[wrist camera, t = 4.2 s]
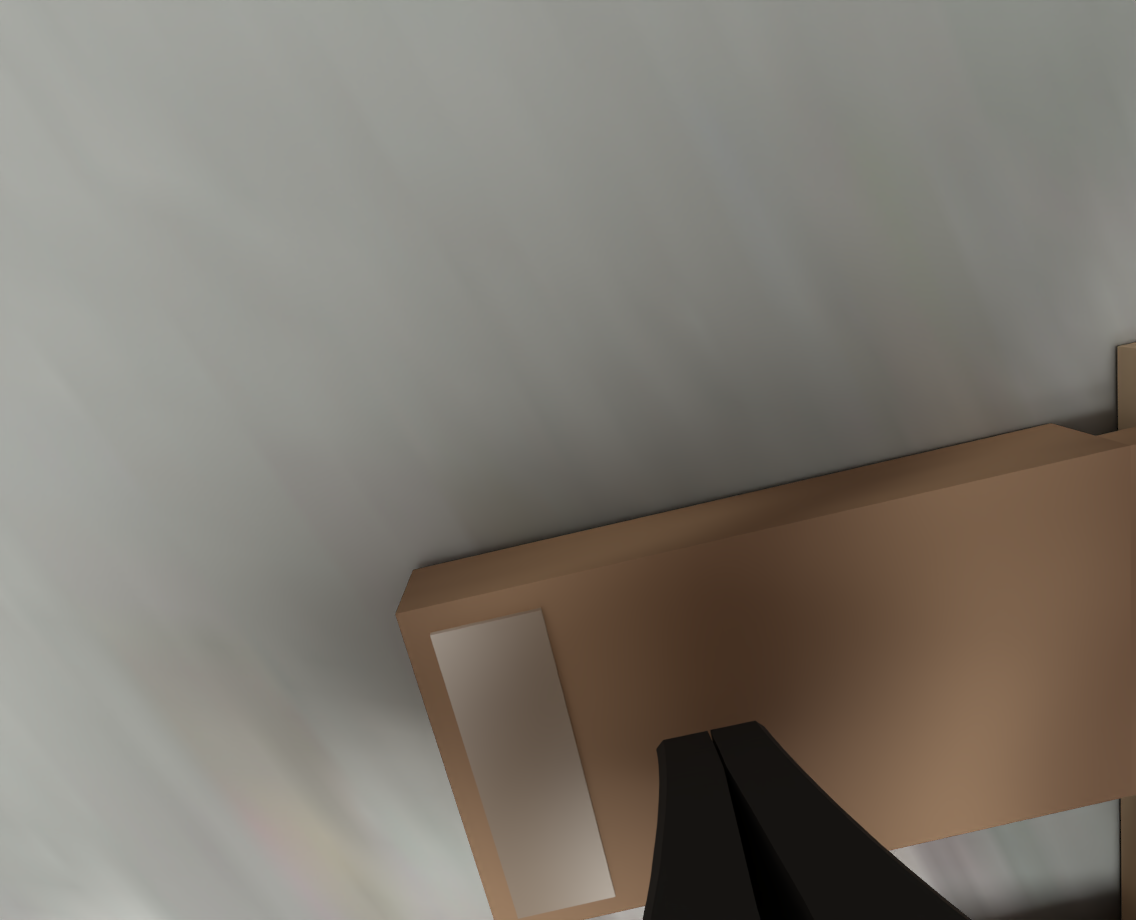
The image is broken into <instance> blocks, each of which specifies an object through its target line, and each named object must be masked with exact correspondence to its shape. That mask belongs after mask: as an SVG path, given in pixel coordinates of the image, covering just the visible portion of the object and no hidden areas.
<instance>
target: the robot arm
mask: <svg viewBox="0 0 1136 920" xmlns="http://www.w3.org/2000/svg"><path fill="white" fill-rule="evenodd" d="M710 732H711V737H712V739H711V737H710V735H709V733H708V731H703V732H698V733H694V734H689V735H684V736H680V737H675V738H670V739H665V740H663V741H662V742H661V743H660V745H659V746H658V747H657V749H656V751H657V757H658V765H659V802H658V817H657V829H656V837H655V845H654V853H653V861H652V869H651V877H650V883H649V889H648V895H647V900H646V905H645V910H644V916H643V920H971V919H970V918H969V917H967V916H966V915H965V914H964V913H962V912H961V911H960V910H959V909H957V908H956V907H955V906H954V905H952V904H951V903H950V902H949V901H947V900H946V899H945V898H944V897H942V896H941V895H940V894H939V893H938V892H936V891H935V890H934V889H933V888H932V887H930V886H929V885H928V884H927V883H926V882H924V881H923V880H922V879H921V878H920V877H918V876H917V875H916V874H915V873H914V872H912V871H911V870H910V869H909V868H908V867H907V866H905V865H904V864H903V863H902V862H901V861H900V860H898V859H897V858H896V857H895V856H894V855H893V854H892V853H890V852H889V851H888V850H887V849H886V848H885V847H884V846H882V845H881V844H880V843H879V842H878V841H877V840H876V839H875V838H874V837H873V836H872V835H870V834H869V833H868V832H867V831H866V830H865V829H864V828H863V827H862V826H861V825H860V824H859V823H857V822H856V821H855V820H854V819H853V818H852V817H851V816H850V815H849V814H848V813H847V812H846V811H845V810H843V809H842V808H841V807H840V806H839V805H838V804H837V803H836V802H835V801H834V800H833V799H832V798H831V797H830V796H829V795H828V794H827V793H826V792H825V791H824V790H823V789H822V788H821V787H820V786H819V785H818V784H817V783H816V782H815V781H814V780H813V779H812V778H811V777H810V776H809V775H808V774H807V773H806V772H805V771H804V770H803V769H802V768H801V767H800V766H799V765H798V764H797V763H796V762H795V761H794V759H793V758H792V757H791V756H790V755H789V754H788V753H787V752H786V751H785V750H784V749H783V747H782V746H781V745H780V744H779V743H778V742H777V741H776V740H775V738H774V737H773V736H772V735H771V734H770V733H769V731H768V730H767V729H766V728H765V726H763V725H761V724H760V723H758V722H757V721H750V722H746V723H741V724H736V725H731V726H727V727H722V728H717V729H713V730H710Z"/></svg>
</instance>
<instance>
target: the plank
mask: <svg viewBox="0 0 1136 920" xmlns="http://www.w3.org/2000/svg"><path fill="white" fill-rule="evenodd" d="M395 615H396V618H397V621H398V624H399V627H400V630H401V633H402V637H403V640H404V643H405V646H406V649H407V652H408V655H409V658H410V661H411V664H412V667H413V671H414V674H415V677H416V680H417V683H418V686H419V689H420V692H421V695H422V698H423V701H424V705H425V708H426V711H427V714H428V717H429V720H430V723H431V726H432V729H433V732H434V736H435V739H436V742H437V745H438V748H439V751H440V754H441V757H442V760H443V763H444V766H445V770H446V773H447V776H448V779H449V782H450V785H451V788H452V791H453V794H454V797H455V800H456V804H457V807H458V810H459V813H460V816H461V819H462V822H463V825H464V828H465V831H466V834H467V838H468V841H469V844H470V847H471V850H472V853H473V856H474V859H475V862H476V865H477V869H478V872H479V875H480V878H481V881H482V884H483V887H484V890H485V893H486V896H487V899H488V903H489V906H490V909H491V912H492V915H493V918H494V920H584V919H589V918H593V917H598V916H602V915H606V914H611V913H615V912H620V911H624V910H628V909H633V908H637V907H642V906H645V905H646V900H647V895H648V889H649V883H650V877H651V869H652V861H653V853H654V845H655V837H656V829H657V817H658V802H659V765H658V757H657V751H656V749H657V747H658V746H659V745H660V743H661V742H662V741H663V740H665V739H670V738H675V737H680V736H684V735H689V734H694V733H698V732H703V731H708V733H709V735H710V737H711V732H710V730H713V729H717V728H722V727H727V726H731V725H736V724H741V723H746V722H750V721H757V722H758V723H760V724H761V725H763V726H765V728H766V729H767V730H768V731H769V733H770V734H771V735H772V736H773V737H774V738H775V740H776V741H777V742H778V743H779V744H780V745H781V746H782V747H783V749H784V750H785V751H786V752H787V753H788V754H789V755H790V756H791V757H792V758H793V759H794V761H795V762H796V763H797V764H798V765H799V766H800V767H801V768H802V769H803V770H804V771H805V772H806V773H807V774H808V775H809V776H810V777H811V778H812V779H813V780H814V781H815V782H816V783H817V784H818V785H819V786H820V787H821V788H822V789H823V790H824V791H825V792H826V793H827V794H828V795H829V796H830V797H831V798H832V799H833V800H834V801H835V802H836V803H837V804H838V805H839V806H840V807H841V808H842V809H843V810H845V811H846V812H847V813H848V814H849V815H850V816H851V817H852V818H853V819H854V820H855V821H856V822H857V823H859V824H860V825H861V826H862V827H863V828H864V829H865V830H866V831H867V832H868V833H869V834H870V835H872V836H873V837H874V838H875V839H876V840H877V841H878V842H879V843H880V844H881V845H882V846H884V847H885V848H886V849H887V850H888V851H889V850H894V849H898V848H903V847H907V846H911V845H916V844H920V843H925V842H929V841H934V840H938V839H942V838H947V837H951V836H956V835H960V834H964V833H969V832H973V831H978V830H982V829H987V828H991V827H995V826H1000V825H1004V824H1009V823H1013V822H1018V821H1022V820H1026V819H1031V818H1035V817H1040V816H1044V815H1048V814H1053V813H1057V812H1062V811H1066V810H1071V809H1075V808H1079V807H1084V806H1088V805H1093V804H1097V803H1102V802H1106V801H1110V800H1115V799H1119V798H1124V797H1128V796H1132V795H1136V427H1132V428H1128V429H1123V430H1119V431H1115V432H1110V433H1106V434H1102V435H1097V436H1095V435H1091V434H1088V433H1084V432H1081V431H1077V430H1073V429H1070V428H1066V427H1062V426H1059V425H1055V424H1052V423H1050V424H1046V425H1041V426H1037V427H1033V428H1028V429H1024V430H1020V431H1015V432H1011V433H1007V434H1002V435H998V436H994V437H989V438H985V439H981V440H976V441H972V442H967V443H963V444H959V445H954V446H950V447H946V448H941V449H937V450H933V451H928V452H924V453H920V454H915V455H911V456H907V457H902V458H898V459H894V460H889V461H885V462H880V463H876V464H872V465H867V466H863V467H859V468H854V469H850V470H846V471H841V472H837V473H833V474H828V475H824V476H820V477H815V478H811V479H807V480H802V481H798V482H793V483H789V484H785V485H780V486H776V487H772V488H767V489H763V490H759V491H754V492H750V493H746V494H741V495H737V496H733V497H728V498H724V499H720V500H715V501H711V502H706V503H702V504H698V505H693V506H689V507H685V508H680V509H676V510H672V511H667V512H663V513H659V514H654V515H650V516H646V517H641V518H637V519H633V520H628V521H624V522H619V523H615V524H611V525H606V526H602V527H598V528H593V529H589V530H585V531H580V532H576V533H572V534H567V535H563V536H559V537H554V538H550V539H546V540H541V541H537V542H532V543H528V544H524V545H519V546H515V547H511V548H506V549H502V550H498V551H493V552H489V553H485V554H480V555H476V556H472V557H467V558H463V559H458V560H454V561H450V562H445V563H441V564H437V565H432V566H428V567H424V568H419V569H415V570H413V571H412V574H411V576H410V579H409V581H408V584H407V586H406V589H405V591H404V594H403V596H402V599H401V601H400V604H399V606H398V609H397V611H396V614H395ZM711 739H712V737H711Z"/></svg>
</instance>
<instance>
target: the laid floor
mask: <svg viewBox="0 0 1136 920" xmlns="http://www.w3.org/2000/svg"><path fill="white" fill-rule="evenodd" d="M1117 357H1118V431H1119V430H1123V429H1128V428H1132V427H1136V342H1134V343H1130V344H1126V345H1121V346H1117ZM1121 886H1122V920H1136V795H1132V796H1128V797H1124V798H1121Z"/></svg>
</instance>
